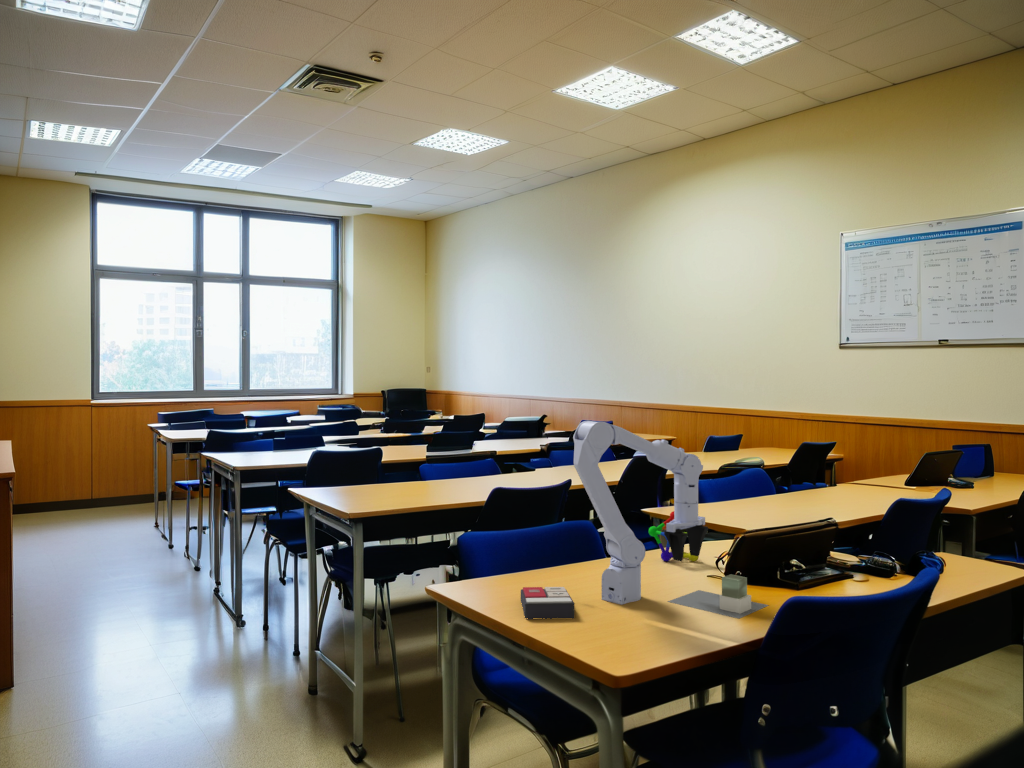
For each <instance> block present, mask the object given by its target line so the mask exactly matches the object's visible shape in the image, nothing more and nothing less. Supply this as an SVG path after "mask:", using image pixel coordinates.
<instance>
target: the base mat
mask: <svg viewBox="0 0 1024 768" xmlns="http://www.w3.org/2000/svg"><path fill="white" fill-rule="evenodd" d="M720 595H721V594H719V593H714V592H709V591H704V590H701V589H699V590H694V591H692V592H689V593H687V594H685V595H684V594H683V595H682V596H678V597H676V598H673V599H671V600H668V601H667V603H671V604H675V605H676V604H677V605H680V606H684V607H688V608H691V609H692V608H693V609H697V610H701V611H705V612H708V613H709V612H710V613H713V614H718V615H721V616H726V617H730V618H734V619H738V620H739V619H742V618H744V617H746V616H748V615H751V614H752V613H755V612H757V611H759V610H762V609H764V608H766V607H768V606H770V605H768V604H764V603H760V602H755V601H752V600H751V609H750V610H747V611H745V612H743V613H741V614H740V613H736V612H731V611H727V610H723V609H720Z"/></svg>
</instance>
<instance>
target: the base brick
mask: <svg viewBox="0 0 1024 768" xmlns="http://www.w3.org/2000/svg"><path fill="white" fill-rule="evenodd" d="M719 595H720V609H723V610H727V611H731V612H736V613H740V614H741V613H743V612H745V611H747V610H750V609H751V601H752V595H751V594H747V595H746V596H744V597H742V598H739V599H737V598H732V597H728V596H723V595H722V594H719Z"/></svg>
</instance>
